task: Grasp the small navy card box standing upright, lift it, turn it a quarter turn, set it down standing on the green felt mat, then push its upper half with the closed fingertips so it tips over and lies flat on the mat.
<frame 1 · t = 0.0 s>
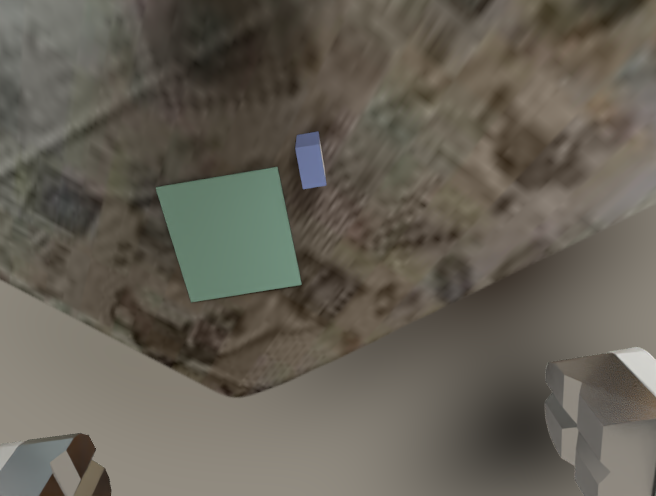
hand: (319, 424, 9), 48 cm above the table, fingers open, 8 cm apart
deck: (310, 152, 55), on the table
mat: (232, 237, 59), on the table
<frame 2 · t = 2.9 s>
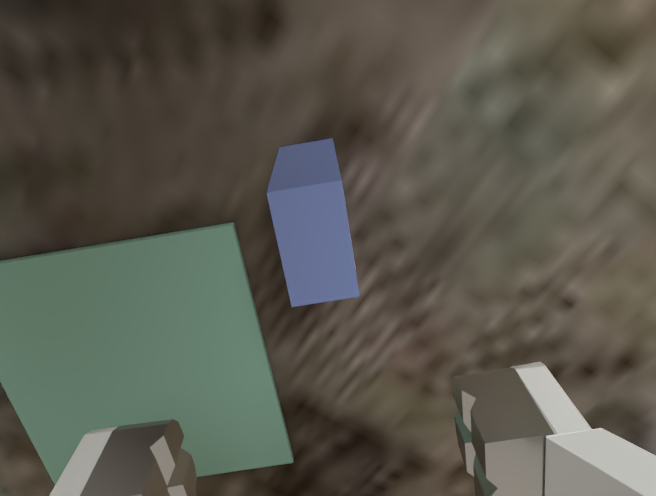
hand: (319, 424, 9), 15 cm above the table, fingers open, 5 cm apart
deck: (313, 187, 23), on the table
mat: (138, 373, 26), on the table
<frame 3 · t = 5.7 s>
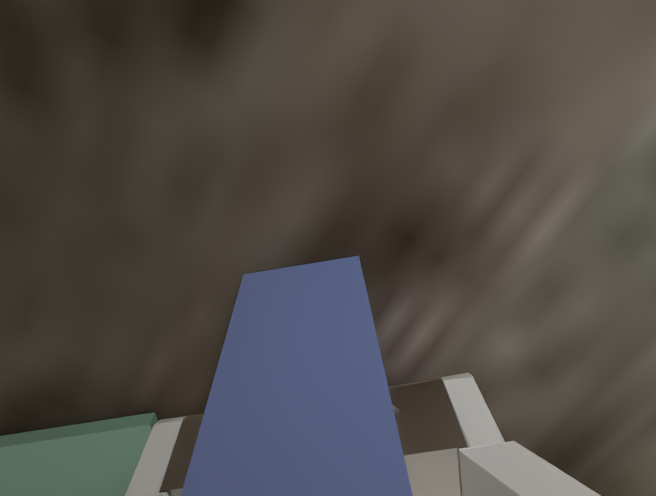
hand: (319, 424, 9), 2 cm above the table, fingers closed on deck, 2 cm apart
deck: (318, 349, 11), on the table, touching gripper
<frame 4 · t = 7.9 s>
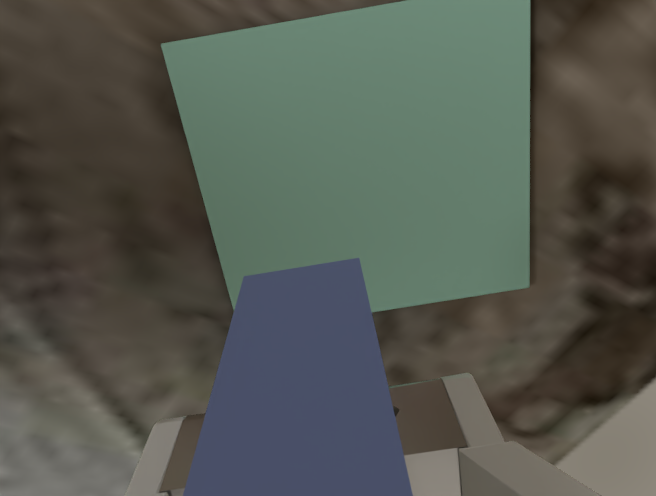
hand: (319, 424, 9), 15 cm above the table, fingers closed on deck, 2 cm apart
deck: (318, 351, 11), point 13 cm above the table, touching gripper
mat: (364, 177, 23), on the table
when the fingers open (3 cm above the table, at t = 10.2 s): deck stays where it is, resting on mat.
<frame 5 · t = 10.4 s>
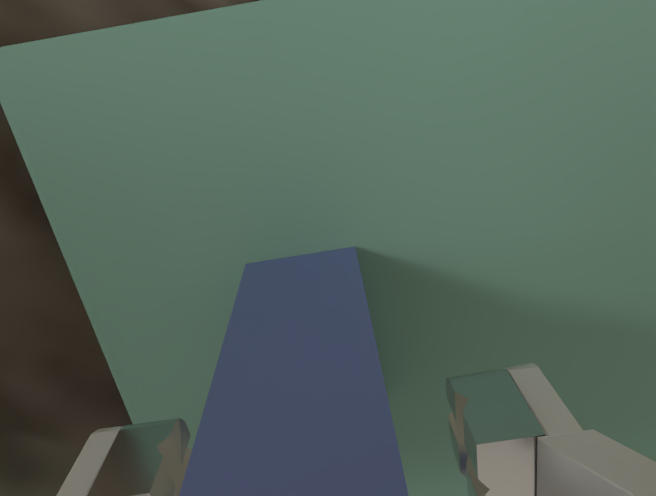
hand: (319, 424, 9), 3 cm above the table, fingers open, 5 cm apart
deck: (316, 336, 11), resting on mat
mat: (422, 309, 12), on the table
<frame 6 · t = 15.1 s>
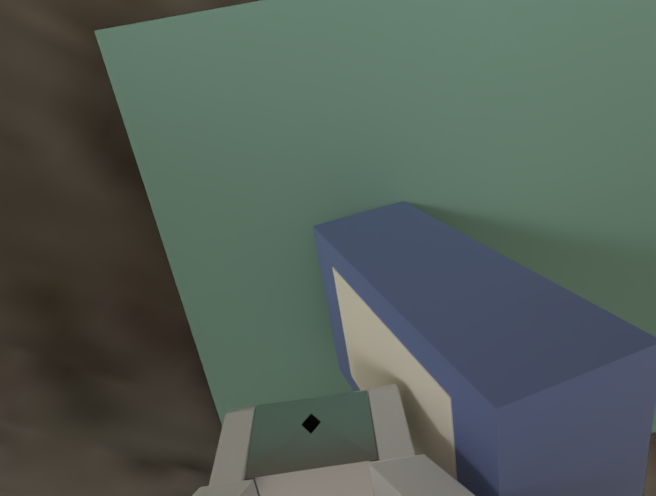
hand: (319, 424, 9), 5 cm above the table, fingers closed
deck: (369, 288, 13), point 1 cm above the table, tilted 17°, touching mat
mat: (457, 259, 13), on the table
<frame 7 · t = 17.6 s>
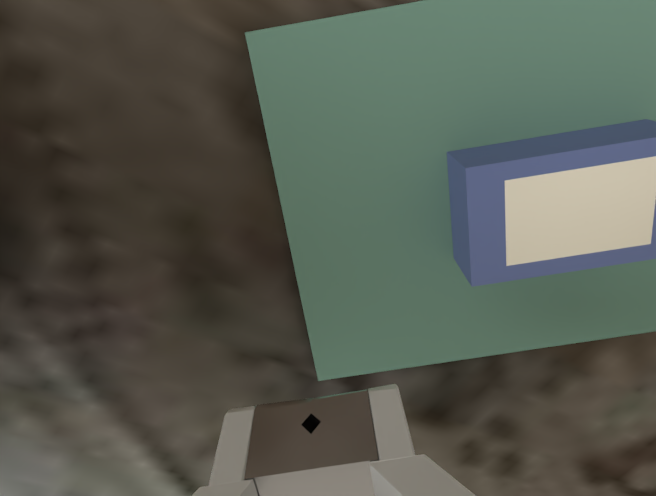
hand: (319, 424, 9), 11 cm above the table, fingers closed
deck: (458, 218, 17), point 2 cm above the table, tilted 90°, touching mat
mat: (482, 197, 19), on the table
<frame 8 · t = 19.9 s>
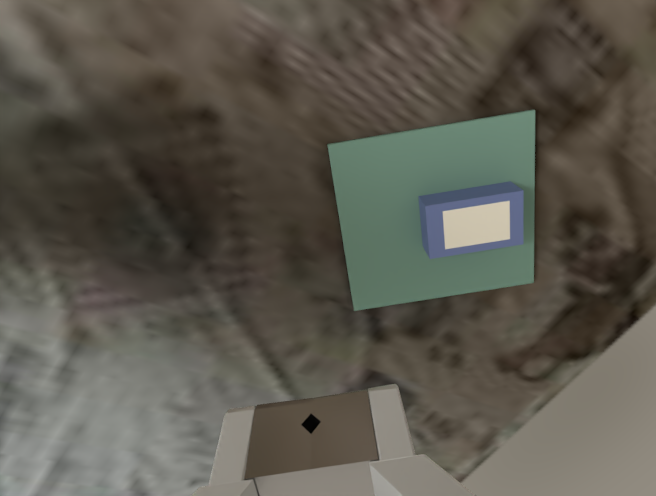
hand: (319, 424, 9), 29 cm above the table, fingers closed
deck: (424, 227, 37), point 2 cm above the table, tilted 90°, touching mat
mat: (436, 216, 38), on the table
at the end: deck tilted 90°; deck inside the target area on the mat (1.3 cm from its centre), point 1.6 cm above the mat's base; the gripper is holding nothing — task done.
